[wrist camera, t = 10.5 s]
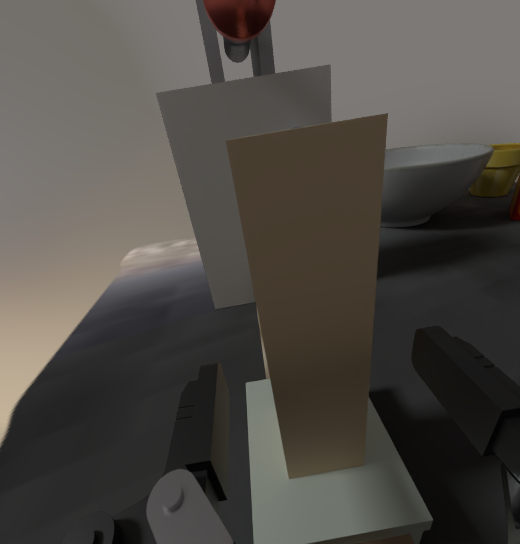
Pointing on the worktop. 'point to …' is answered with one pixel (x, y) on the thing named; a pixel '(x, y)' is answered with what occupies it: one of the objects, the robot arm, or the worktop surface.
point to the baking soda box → (515, 203)
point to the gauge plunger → (239, 23)
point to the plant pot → (498, 171)
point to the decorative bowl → (428, 180)
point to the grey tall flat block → (214, 155)
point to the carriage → (319, 337)
